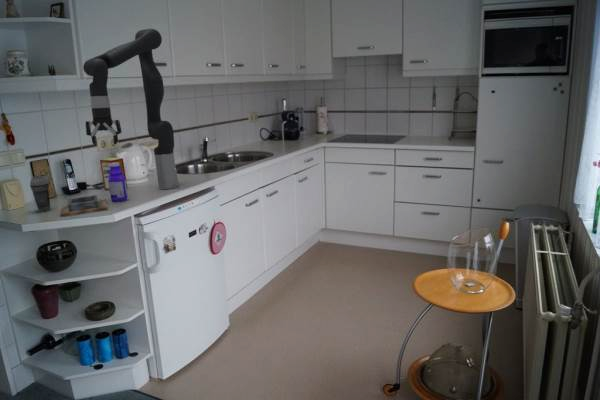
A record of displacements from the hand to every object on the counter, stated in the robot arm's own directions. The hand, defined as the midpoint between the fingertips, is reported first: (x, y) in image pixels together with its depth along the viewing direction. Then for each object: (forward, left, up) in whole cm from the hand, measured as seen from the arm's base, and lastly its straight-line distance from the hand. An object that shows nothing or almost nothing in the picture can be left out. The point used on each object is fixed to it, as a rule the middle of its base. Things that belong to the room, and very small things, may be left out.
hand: (105, 144), depth 211 cm
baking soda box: (-2, -29, -26) cm, 39 cm away
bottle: (-2, -1, -26) cm, 26 cm away
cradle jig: (+13, +6, -26) cm, 30 cm away
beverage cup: (+29, -3, -26) cm, 39 cm away
